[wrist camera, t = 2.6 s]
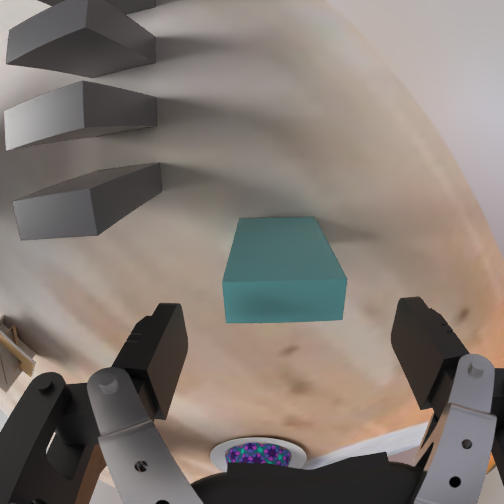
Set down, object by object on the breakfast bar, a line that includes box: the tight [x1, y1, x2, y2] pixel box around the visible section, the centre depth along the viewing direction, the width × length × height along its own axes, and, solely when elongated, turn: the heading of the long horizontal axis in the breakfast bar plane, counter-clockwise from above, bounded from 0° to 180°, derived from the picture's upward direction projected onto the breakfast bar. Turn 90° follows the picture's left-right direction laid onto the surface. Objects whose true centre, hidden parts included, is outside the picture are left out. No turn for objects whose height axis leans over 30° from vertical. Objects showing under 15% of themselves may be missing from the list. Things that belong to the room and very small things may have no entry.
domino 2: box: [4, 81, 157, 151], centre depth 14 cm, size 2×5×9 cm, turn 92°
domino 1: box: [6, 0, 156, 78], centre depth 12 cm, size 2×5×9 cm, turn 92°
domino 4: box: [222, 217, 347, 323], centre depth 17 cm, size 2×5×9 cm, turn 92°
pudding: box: [210, 437, 307, 472], centre depth 30 cm, size 12×12×5 cm
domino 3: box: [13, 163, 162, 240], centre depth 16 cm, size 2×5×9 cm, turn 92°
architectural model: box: [0, 315, 36, 393], centre depth 23 cm, size 3×7×7 cm, turn 51°
